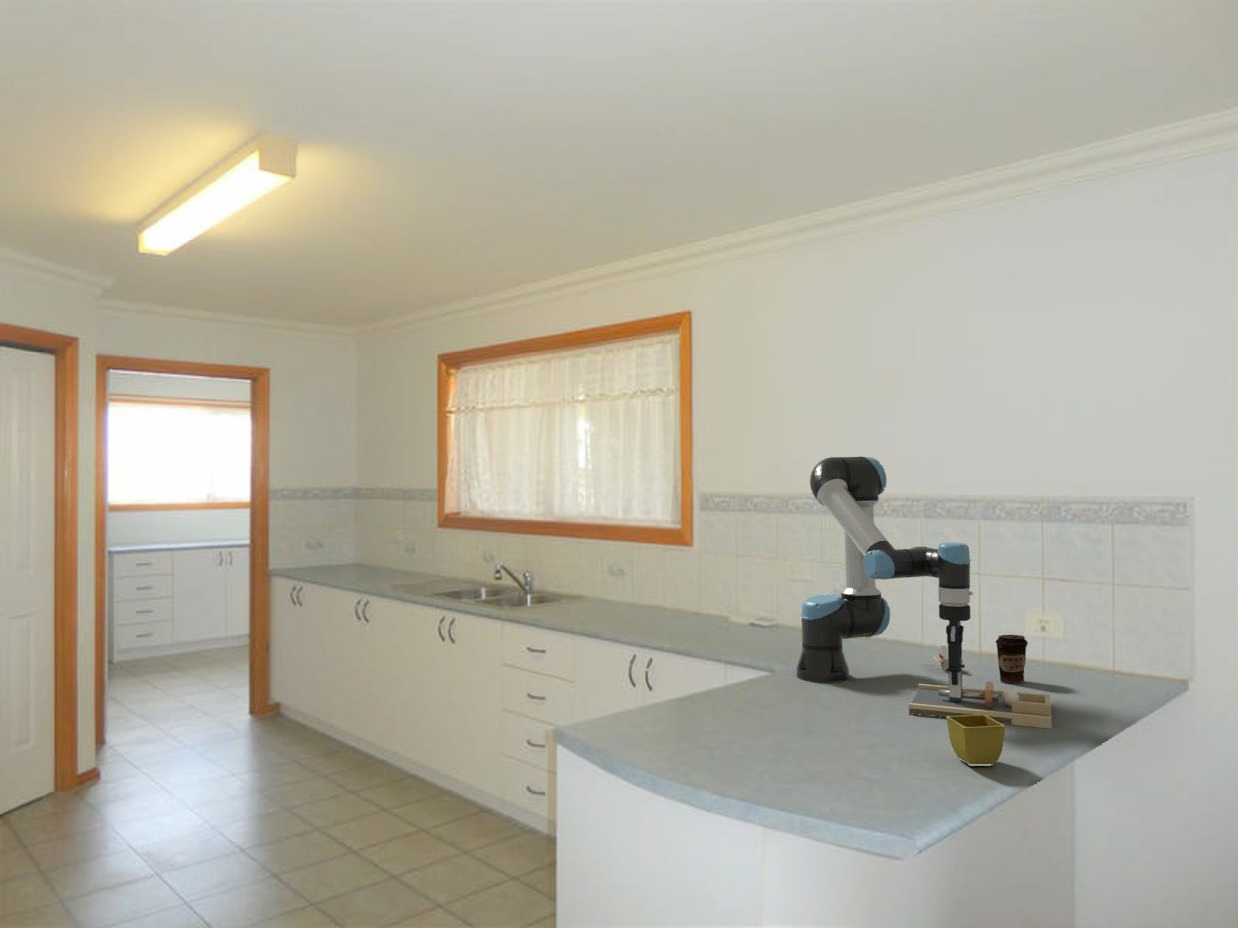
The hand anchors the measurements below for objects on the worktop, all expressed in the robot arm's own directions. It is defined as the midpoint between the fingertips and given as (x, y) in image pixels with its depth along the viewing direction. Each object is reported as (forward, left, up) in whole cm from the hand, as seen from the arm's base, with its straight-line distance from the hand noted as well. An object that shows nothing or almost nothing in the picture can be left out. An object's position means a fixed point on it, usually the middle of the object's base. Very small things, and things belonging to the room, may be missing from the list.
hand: (955, 694), depth 225 cm
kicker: (+3, 0, -1) cm, 3 cm away
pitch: (+6, 0, -3) cm, 7 cm away
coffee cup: (+13, +33, -3) cm, 36 cm away
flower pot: (+7, -43, -3) cm, 44 cm away
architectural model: (-6, +42, -4) cm, 42 cm away
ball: (+13, 0, 0) cm, 13 cm away
